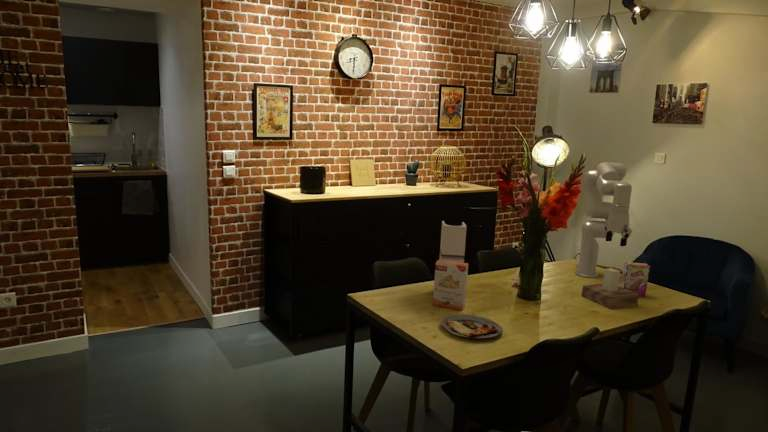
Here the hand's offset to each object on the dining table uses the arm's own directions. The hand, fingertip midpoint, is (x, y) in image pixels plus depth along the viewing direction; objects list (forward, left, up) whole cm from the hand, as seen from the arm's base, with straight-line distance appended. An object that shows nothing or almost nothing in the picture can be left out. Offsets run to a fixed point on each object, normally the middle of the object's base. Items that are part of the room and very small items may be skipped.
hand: (615, 243), depth 260 cm
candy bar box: (-3, +19, -29) cm, 34 cm away
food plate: (+20, -87, -29) cm, 94 cm away
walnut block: (+2, -1, -29) cm, 29 cm away
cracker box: (-7, -84, -29) cm, 89 cm away
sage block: (+2, -2, -23) cm, 23 cm away
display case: (-23, -76, -29) cm, 85 cm away
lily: (-28, -33, -29) cm, 52 cm away
